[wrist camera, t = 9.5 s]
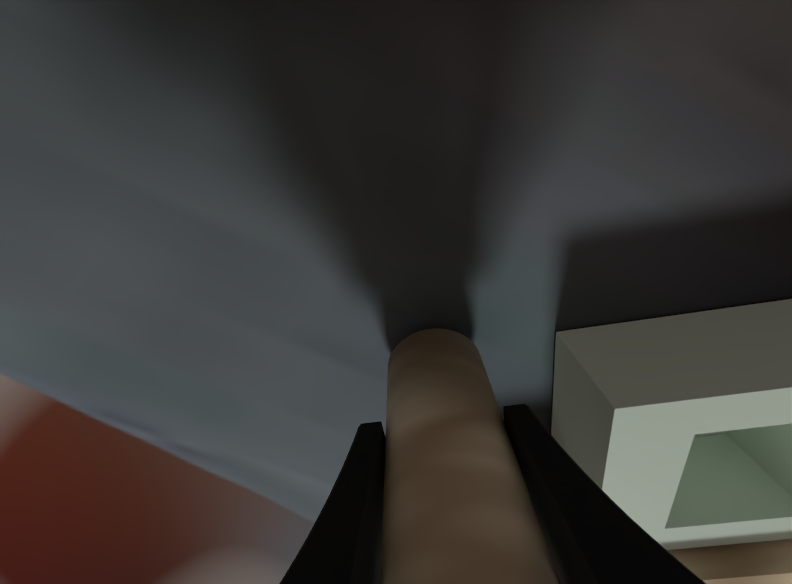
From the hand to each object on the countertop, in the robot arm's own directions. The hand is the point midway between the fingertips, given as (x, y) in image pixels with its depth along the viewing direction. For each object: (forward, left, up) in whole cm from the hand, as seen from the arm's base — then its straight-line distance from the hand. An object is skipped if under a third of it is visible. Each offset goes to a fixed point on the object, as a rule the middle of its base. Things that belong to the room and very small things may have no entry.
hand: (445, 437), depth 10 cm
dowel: (0, 0, -3) cm, 3 cm away
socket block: (-10, +4, -4) cm, 11 cm away
